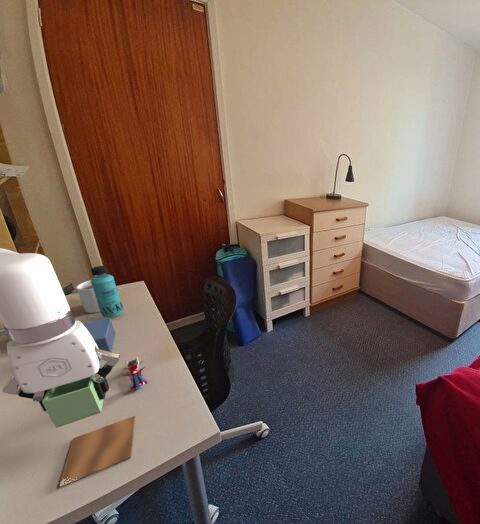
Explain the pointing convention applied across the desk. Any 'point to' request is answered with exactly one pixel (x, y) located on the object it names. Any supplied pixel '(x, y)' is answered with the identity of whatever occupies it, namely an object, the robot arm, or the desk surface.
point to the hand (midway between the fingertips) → (80, 401)
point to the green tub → (72, 402)
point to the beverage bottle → (106, 293)
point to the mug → (88, 297)
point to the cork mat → (99, 449)
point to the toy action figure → (135, 374)
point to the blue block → (102, 333)
